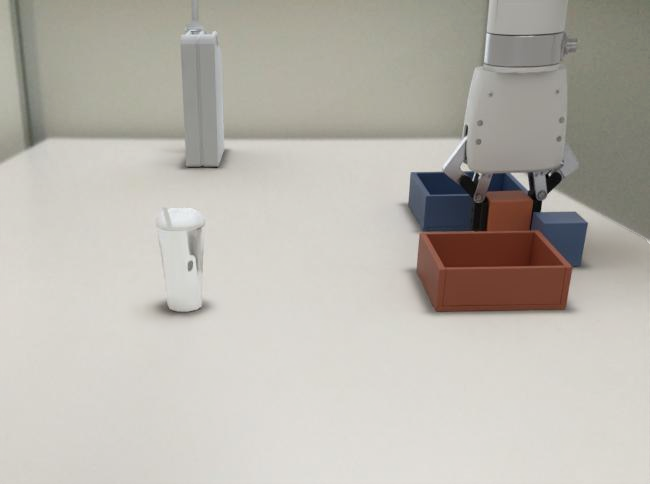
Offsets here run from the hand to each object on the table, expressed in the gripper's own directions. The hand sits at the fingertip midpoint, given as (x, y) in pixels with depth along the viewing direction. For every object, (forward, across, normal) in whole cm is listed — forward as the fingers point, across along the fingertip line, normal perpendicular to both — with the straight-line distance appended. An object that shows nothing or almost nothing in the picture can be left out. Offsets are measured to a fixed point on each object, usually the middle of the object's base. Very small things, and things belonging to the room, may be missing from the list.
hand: (503, 234), depth 107 cm
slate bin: (+1, +2, -13) cm, 13 cm away
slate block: (+2, -4, +5) cm, 7 cm away
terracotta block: (0, 0, 0) cm, 0 cm away
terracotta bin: (+1, +5, +14) cm, 15 cm away
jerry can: (+1, +35, -50) cm, 61 cm away
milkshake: (+1, +35, +18) cm, 39 cm away
